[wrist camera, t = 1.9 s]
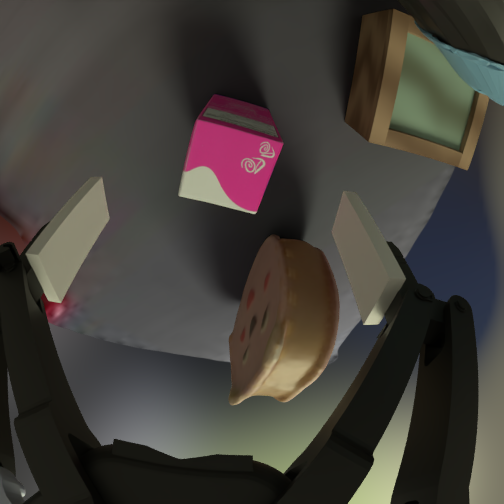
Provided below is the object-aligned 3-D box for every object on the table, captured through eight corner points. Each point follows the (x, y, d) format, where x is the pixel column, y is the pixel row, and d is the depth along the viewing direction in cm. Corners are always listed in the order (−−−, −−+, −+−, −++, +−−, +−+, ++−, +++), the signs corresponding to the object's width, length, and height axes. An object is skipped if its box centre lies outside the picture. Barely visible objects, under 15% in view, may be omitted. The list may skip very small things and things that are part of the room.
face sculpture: (268, 209, 33) (279, 333, 20) (322, 224, 34) (359, 342, 21) (228, 315, 45) (223, 414, 32) (269, 322, 46) (274, 418, 33)
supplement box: (253, 159, 29) (255, 218, 20) (198, 144, 28) (172, 197, 19) (272, 108, 25) (285, 143, 16) (213, 91, 24) (190, 116, 15)
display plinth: (362, 15, 18) (393, 8, 13) (455, 55, 19) (495, 64, 14) (344, 121, 26) (368, 142, 21) (434, 145, 27) (467, 170, 21)
